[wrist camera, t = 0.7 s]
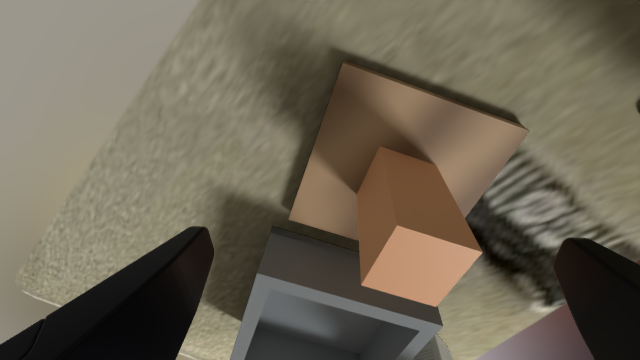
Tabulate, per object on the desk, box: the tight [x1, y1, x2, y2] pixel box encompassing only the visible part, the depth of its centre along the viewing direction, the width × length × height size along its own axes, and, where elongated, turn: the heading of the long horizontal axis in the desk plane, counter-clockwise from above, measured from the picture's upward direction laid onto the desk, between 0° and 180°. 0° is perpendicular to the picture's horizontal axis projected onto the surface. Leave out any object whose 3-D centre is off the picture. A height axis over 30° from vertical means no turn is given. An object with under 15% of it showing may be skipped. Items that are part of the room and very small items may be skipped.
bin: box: [230, 226, 443, 360], centre depth 27 cm, size 14×14×5 cm
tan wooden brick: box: [357, 146, 482, 307], centre depth 17 cm, size 4×4×8 cm
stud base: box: [289, 60, 530, 241], centre depth 19 cm, size 12×12×6 cm
